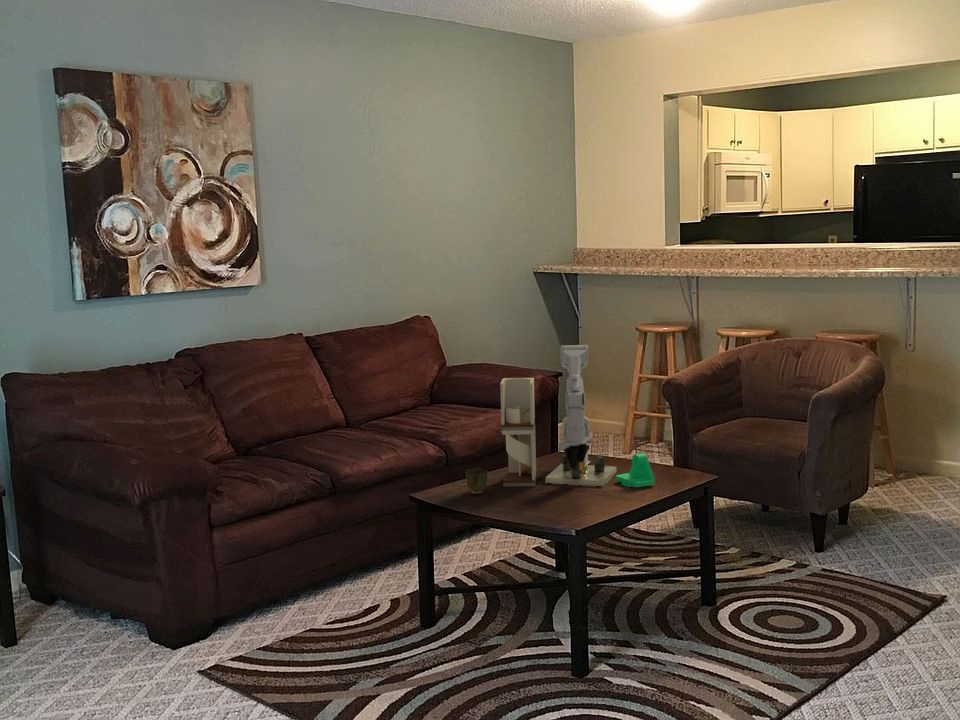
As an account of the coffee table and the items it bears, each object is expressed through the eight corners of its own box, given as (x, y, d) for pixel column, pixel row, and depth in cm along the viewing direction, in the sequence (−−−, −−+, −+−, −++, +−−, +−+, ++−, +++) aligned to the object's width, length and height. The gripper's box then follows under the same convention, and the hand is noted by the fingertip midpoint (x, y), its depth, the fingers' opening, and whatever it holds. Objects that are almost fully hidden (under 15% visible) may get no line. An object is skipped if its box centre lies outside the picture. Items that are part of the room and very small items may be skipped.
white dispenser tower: (505, 477, 368) (502, 378, 363) (536, 477, 367) (533, 377, 362) (503, 486, 357) (500, 383, 352) (534, 486, 356) (532, 383, 351)
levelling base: (561, 469, 378) (560, 450, 377) (616, 472, 371) (616, 452, 370) (545, 483, 359) (544, 463, 358) (603, 486, 352) (603, 466, 351)
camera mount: (614, 483, 358) (614, 453, 356) (633, 479, 361) (632, 450, 360) (636, 490, 347) (636, 460, 346) (655, 487, 351) (654, 456, 349)
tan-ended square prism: (567, 477, 358) (567, 462, 357) (570, 474, 361) (570, 460, 361) (582, 478, 356) (582, 463, 355) (585, 475, 359) (585, 461, 359)
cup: (493, 493, 348) (492, 469, 347) (477, 498, 343) (476, 474, 342) (477, 489, 354) (476, 466, 353) (461, 494, 349) (460, 470, 348)
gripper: (568, 432, 349) (569, 472, 351) (599, 425, 358) (600, 464, 360) (553, 429, 354) (554, 469, 356) (584, 422, 363) (585, 461, 365)
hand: (576, 466), depth 358 cm, fingers closed on tan-ended square prism, 3 cm apart
